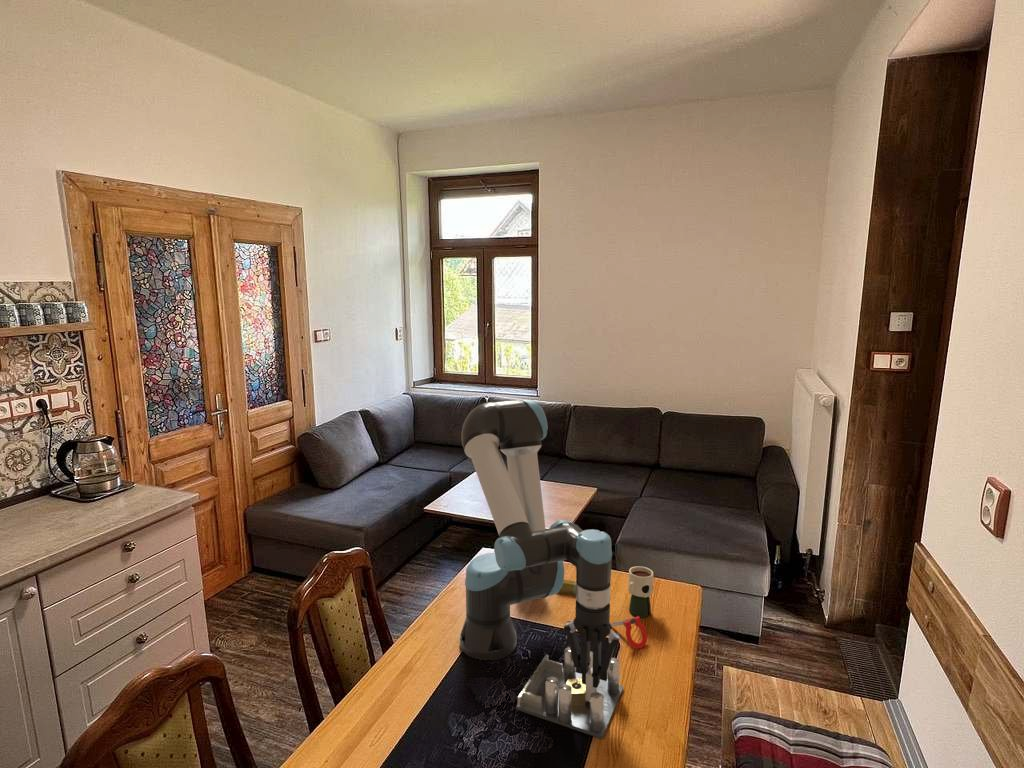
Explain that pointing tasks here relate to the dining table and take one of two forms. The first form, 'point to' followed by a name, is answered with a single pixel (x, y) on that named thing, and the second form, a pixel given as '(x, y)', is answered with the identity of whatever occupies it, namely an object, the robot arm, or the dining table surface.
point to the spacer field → (570, 696)
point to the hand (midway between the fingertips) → (590, 697)
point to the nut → (577, 691)
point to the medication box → (568, 587)
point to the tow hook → (628, 631)
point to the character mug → (640, 590)
